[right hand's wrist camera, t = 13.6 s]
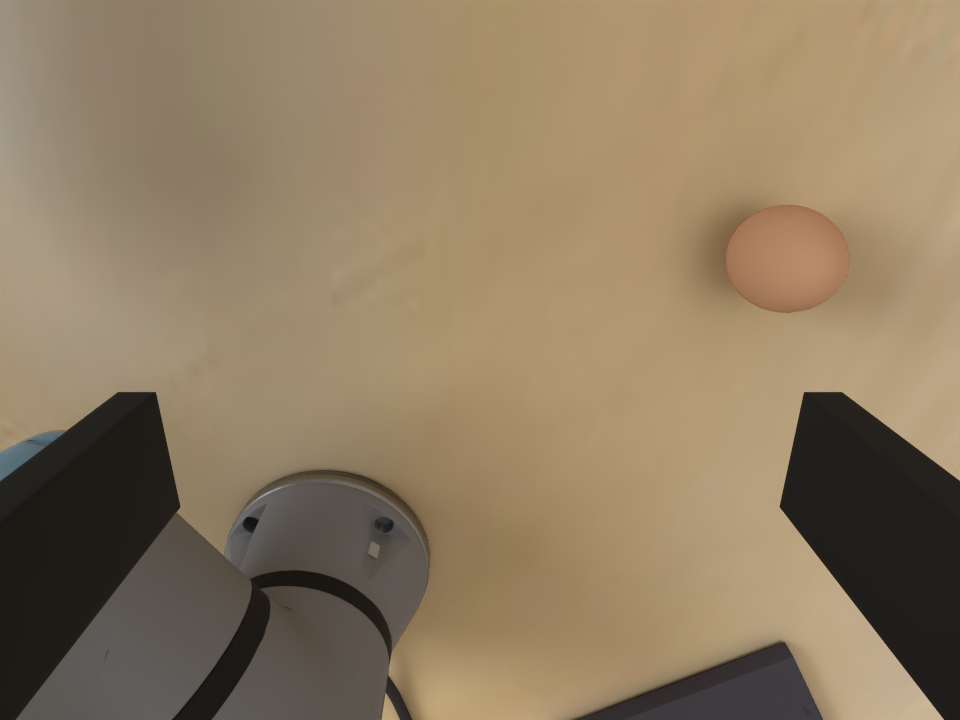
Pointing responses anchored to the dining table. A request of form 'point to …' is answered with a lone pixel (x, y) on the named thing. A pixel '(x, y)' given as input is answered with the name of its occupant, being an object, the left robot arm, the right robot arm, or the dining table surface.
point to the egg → (787, 259)
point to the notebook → (728, 693)
